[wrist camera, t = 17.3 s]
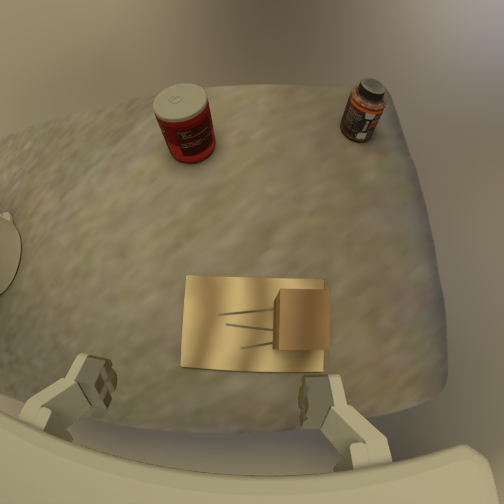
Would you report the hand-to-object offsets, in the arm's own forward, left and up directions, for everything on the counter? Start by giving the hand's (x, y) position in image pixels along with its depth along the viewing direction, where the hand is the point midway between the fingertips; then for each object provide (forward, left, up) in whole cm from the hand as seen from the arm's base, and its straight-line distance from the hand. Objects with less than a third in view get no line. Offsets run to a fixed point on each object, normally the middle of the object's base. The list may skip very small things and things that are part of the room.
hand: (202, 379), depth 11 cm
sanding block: (+7, +4, -26) cm, 27 cm away
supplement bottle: (+19, +37, -27) cm, 50 cm away
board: (+2, +4, -27) cm, 27 cm away
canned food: (-9, +32, -27) cm, 43 cm away
